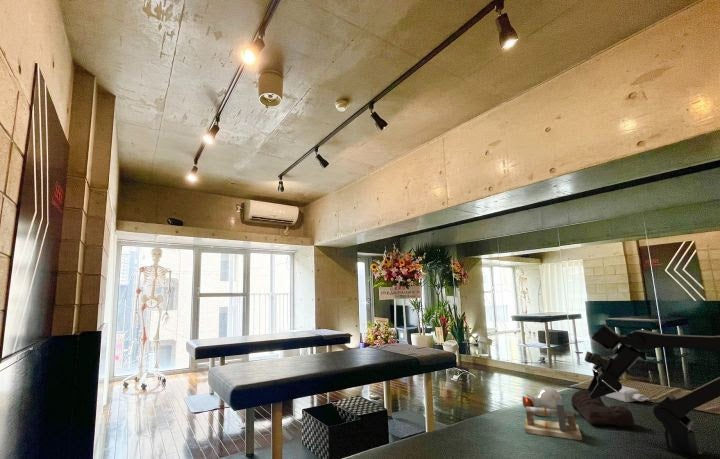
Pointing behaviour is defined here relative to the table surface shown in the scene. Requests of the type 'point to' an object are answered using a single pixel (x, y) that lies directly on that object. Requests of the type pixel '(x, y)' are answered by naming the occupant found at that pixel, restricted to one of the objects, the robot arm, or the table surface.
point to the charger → (627, 395)
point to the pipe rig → (551, 424)
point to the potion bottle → (542, 399)
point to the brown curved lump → (601, 410)
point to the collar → (561, 414)
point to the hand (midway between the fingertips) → (589, 394)
